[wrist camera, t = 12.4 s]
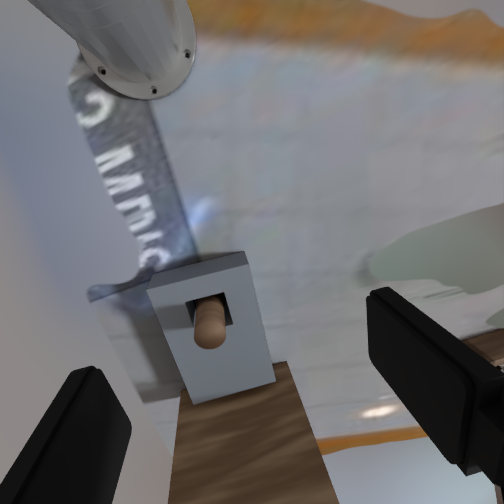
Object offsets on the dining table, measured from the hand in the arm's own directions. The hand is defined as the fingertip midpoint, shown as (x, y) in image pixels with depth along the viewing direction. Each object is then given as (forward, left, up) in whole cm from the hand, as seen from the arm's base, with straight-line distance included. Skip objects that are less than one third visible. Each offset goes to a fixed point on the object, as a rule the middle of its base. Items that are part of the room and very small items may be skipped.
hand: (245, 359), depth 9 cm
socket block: (+19, -5, -30) cm, 36 cm away
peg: (+14, -5, -30) cm, 34 cm away
